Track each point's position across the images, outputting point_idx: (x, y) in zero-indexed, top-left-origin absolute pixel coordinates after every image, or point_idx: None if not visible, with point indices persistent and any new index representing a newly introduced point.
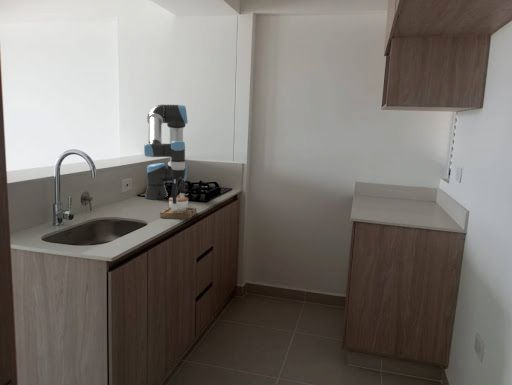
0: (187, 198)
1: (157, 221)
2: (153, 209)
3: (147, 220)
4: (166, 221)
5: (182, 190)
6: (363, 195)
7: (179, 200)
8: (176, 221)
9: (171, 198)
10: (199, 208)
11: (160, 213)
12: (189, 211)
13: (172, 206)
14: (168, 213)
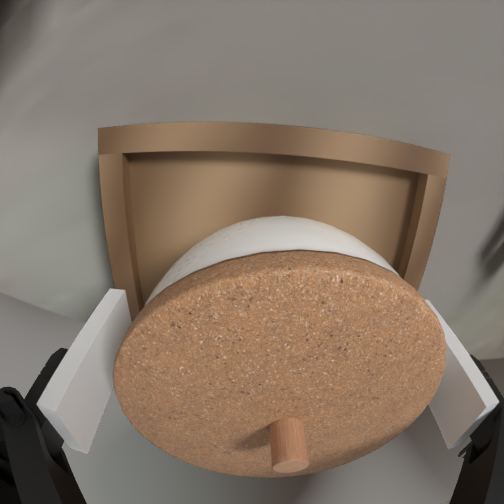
0: (269, 477)
1: (16, 163)
2: (472, 5)
3: (27, 72)
4: (34, 230)
5: (465, 480)
6: (449, 501)
7: (142, 431)
8: (60, 297)
9: (199, 345)
10: (480, 339)
11: (103, 130)
12: None
13: (95, 310)
14: (106, 226)
